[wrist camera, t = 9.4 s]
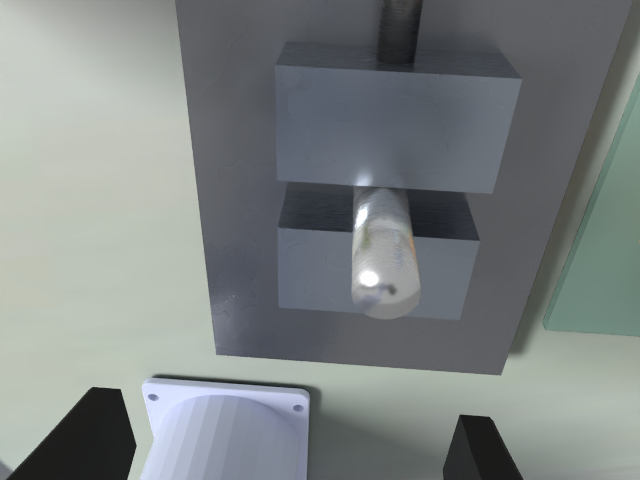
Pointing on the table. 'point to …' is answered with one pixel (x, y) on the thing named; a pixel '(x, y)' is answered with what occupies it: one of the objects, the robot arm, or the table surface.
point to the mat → (606, 245)
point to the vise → (385, 168)
